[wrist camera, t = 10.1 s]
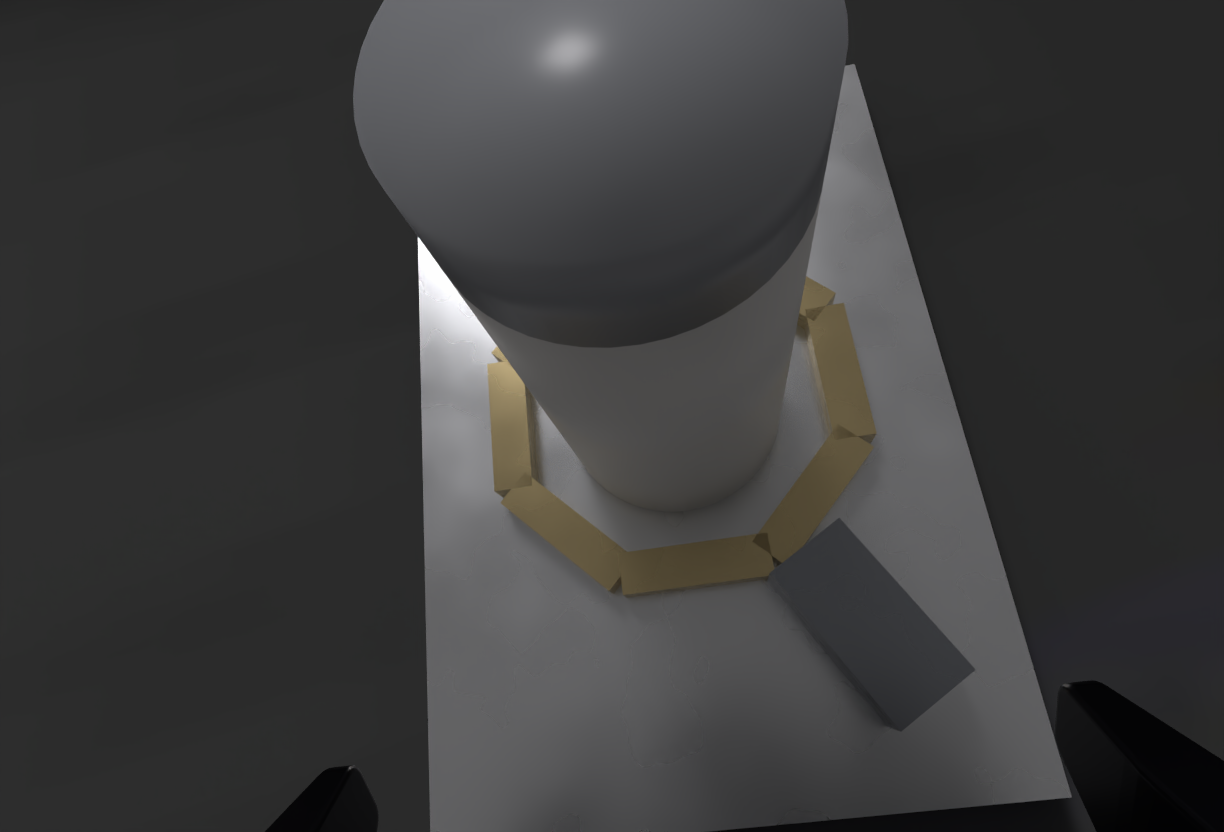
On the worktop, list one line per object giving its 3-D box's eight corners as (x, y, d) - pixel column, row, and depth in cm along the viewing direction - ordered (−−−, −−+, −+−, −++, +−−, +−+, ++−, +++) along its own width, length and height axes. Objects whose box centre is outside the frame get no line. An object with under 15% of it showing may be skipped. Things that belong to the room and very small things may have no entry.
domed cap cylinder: (798, 494, 18) (907, 206, 7) (579, 526, 19) (349, 308, 7) (758, 298, 20) (791, -178, 9) (560, 332, 21) (356, -72, 9)
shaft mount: (1052, 789, 16) (1106, 810, 14) (447, 847, 18) (403, 874, 15) (849, 88, 23) (862, 23, 21) (428, 174, 24) (395, 122, 22)
